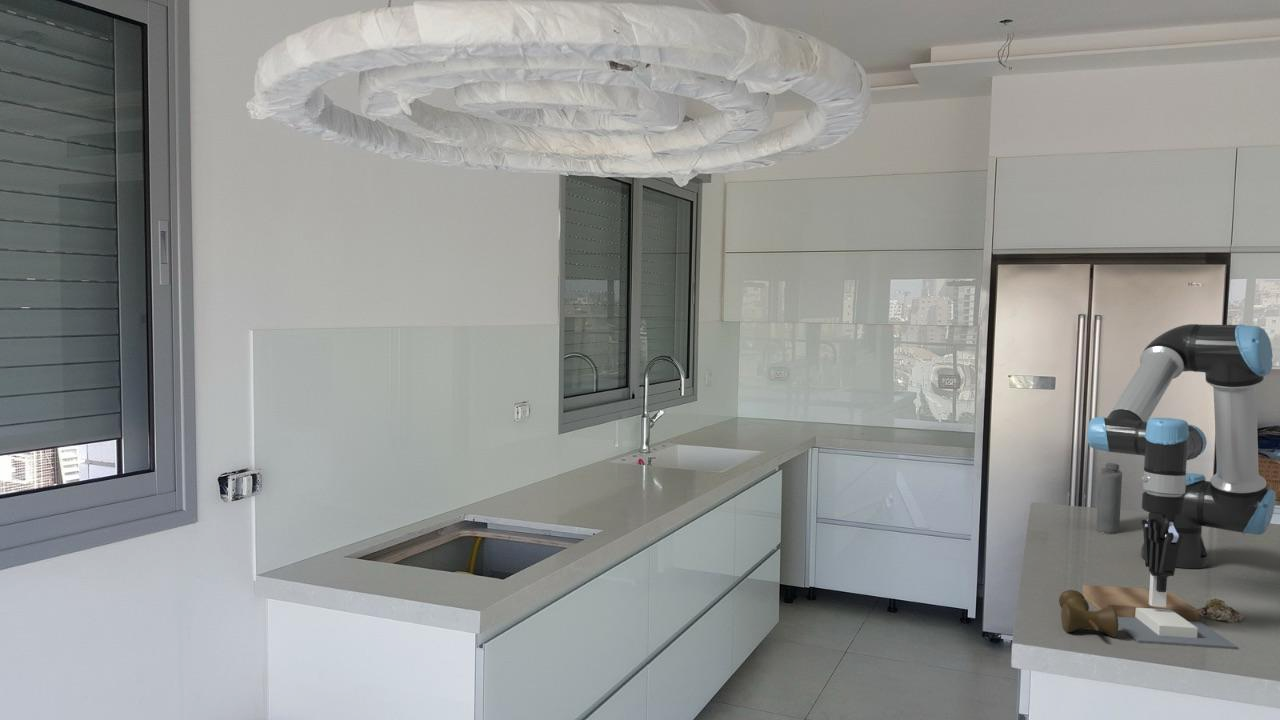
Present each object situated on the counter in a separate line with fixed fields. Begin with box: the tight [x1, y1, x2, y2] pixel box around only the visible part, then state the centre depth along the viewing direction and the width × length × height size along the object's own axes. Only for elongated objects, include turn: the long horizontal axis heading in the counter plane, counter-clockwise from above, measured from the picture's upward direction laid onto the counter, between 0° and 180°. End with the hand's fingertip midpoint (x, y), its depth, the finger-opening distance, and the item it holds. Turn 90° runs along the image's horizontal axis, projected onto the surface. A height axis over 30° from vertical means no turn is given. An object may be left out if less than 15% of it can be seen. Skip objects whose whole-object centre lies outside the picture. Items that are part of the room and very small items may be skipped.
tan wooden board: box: [1081, 584, 1200, 622], centre depth 191 cm, size 18×14×2 cm
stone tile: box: [1135, 608, 1198, 638], centre depth 179 cm, size 7×11×2 cm, turn 173°
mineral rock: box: [1196, 598, 1244, 624], centre depth 188 cm, size 11×4×8 cm
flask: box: [1096, 462, 1123, 534], centre depth 266 cm, size 15×6×20 cm, turn 150°
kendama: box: [1058, 589, 1119, 638], centre depth 179 cm, size 6×10×20 cm
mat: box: [1118, 617, 1238, 650], centre depth 177 cm, size 18×14×1 cm
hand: (1157, 605), depth 183 cm, fingers closed
